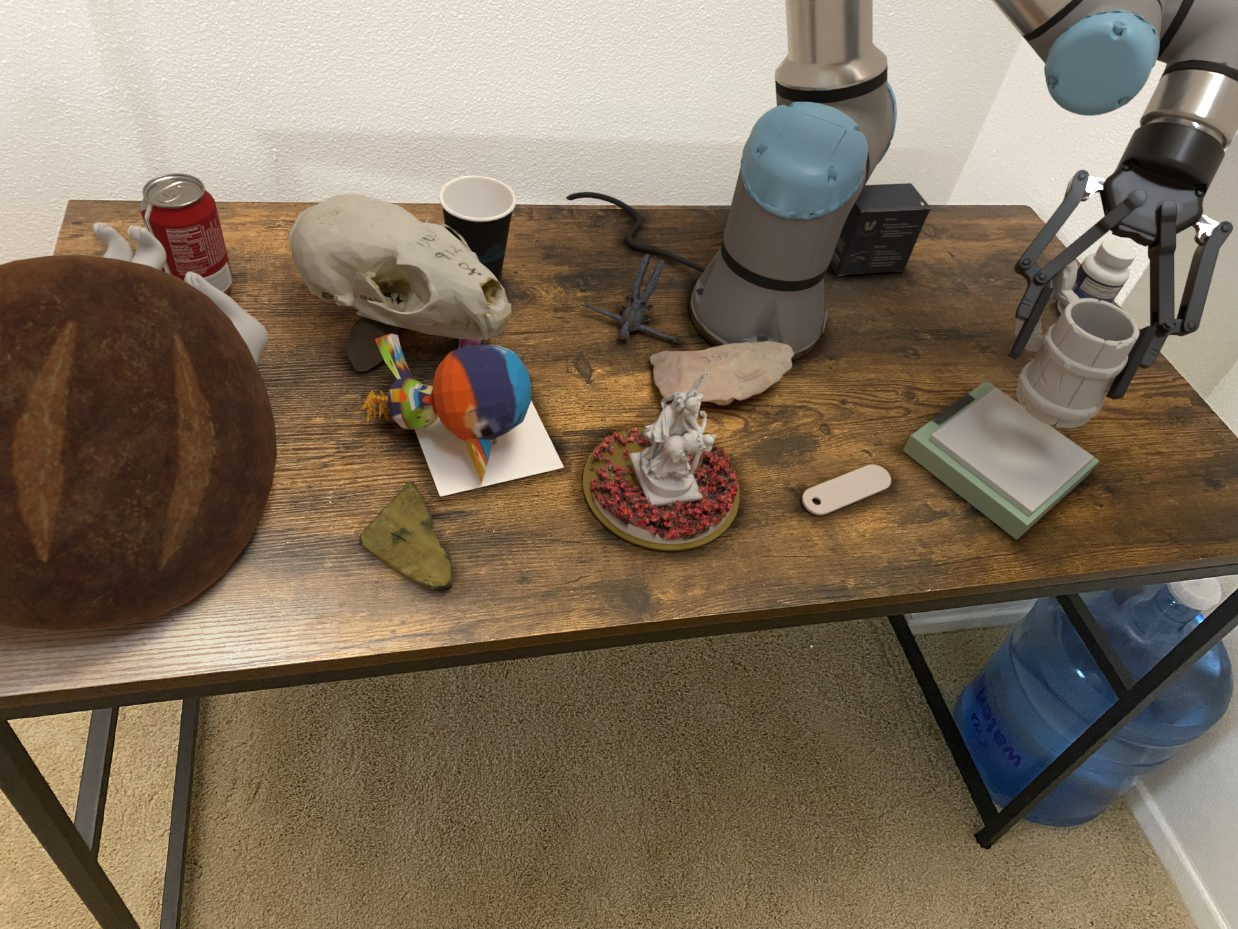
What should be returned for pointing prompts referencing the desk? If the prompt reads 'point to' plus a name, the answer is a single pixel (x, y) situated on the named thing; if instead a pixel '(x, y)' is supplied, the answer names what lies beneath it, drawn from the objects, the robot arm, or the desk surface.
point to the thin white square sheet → (508, 458)
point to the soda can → (187, 228)
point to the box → (880, 230)
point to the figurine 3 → (664, 480)
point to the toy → (458, 395)
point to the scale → (1000, 458)
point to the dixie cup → (480, 216)
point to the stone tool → (723, 370)
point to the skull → (397, 268)
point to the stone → (409, 541)
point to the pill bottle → (1103, 272)
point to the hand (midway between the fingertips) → (1063, 376)
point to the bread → (121, 443)
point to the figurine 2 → (637, 303)
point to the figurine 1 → (368, 340)
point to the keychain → (846, 489)
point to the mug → (1074, 356)
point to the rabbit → (155, 256)
